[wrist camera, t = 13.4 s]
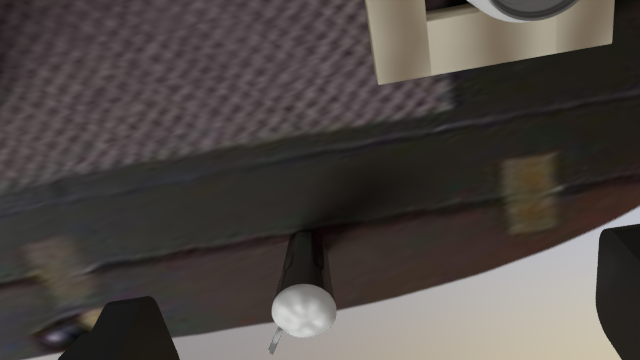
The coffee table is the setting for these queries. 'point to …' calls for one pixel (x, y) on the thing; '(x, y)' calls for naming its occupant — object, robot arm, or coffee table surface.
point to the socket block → (473, 36)
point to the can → (523, 9)
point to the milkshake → (304, 289)
